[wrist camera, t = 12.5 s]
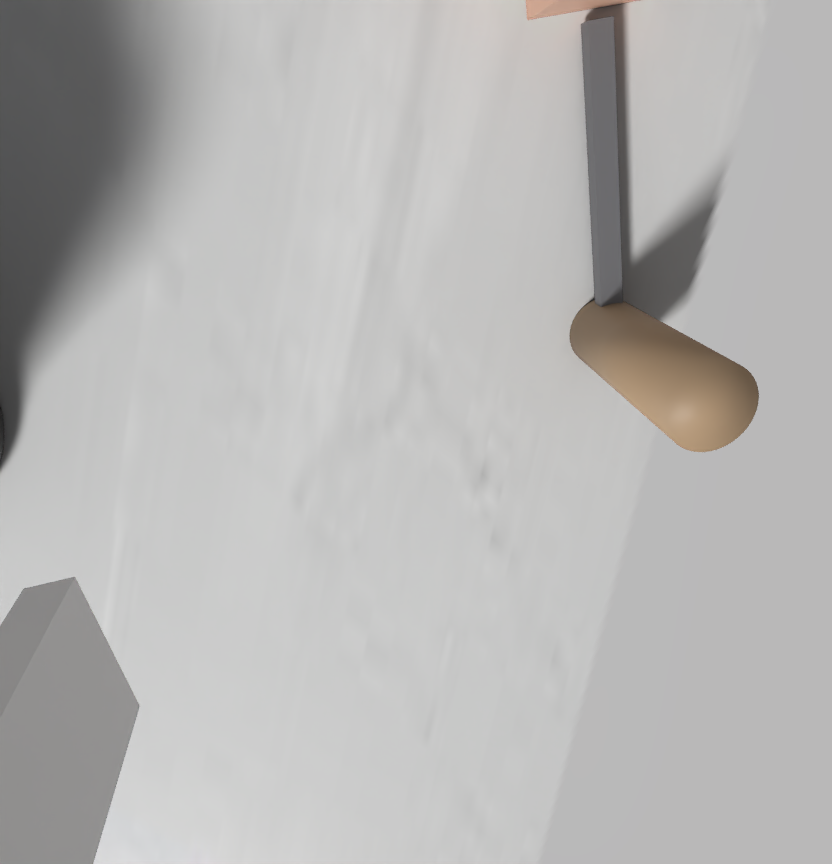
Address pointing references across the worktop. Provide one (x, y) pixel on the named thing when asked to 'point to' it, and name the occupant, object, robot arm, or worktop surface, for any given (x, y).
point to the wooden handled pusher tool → (608, 314)
